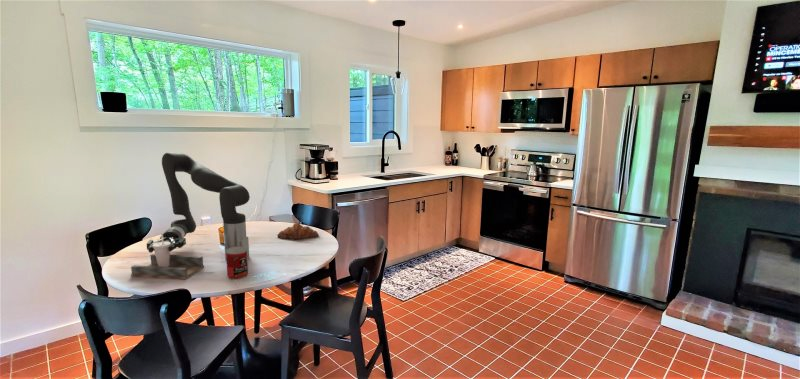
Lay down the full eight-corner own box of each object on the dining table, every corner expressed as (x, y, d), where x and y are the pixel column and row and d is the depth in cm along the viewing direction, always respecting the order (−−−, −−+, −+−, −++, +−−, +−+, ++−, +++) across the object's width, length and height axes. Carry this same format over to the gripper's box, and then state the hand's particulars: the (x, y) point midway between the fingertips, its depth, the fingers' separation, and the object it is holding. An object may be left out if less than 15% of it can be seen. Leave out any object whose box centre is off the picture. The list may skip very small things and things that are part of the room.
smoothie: (164, 270, 149) (160, 236, 147) (150, 268, 150) (147, 235, 148) (176, 264, 155) (173, 232, 153) (163, 262, 157) (160, 230, 154)
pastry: (301, 231, 215) (301, 217, 214) (319, 236, 206) (319, 222, 205) (276, 237, 202) (276, 223, 200) (294, 243, 193) (294, 229, 191)
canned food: (235, 280, 146) (233, 254, 144) (223, 276, 150) (221, 250, 148) (252, 274, 153) (251, 248, 151) (240, 270, 157) (238, 245, 155)
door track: (204, 267, 159) (203, 256, 158) (184, 279, 146) (183, 267, 145) (154, 264, 160) (153, 253, 159) (131, 276, 147) (129, 264, 147)
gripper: (153, 229, 162) (138, 241, 147) (190, 228, 166) (179, 239, 150) (155, 246, 164) (140, 259, 148) (191, 244, 168) (180, 257, 152)
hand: (160, 249), depth 149 cm, fingers closed on smoothie, 6 cm apart
